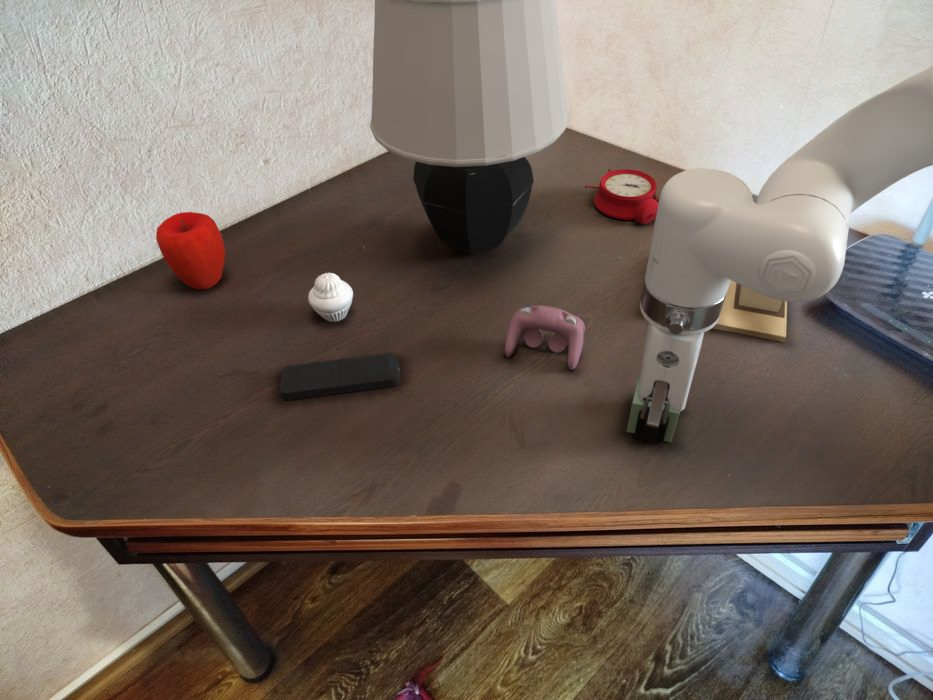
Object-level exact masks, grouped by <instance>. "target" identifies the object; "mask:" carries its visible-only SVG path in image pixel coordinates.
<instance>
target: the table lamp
mask: <svg viewBox="0 0 933 700" xmlns="http://www.w3.org/2000/svg"><path fill="white" fill-rule="evenodd" d="M373 19H374V21H373V23H374V25H373V50H372V51H373V52H372V91H371V92H372V95H371V97H372V98H371V117H370V119H371V120H370V124H369V128H370V131H371V133H372V135H373V137H374V140H375V141H376V142H377V143H378V144H379V145H381V146H382V147H383V148H384V149H385V150H386V151H387V152H390V153H391V154H394V155H396V156H398V157H401V158H402V159H405V160H409V161H413V162H415V163H414V166H413V179H412V181H413V182H414V185H415V188H416V189H415V190H416V193H417V195H418V198H419V202H420V203H421V206H422V208H423V211H424V212H425V214H426V216H427V218H428V221H429V223H430V225H431V228H432V230H433V231H434V233H435V235H436V236H437V237H438V239H439V240H440V242H442V243H444V244H445V245H446V246H448V247H450V248H451V249H454V250H457V251H460V252H463V253H466V254H471V255H476V254H481V253H487V252H490V251H493V250H495V249H496V248H498V247H499V246H500V245H501V244H502V243H503V242H504V241H505V240H506V238H508V236H509V235H510V234H511V233H512V231H514V229H516V227H517V226H518V225H519V223H520V222H521V220H522V218H523V216H524V214H525V212H526V209H527V207H528V205H529V202H530V198H531V195H532V189H533V184H534V183H535V180H534V173H533V168H532V165H531V163H530V162H529V160H528V159H527V158H526V157H528V156H531V155H534V154H537V153H538V152H541V151H542V150H543V149H546V148H547V147H549V146H551V145H553V144H554V143H555V142H556V141H557V140H558V139H559V138H560V137H561V136H562V134H563V133H564V132H565V131H566V129H567V126H568V123H569V119H570V114H569V111H568V104H567V97H566V89H565V80H564V79H565V78H564V70H563V60H562V59H563V58H562V52H561V41H560V34H559V24H558V16H557V9H556V0H374V18H373Z"/></svg>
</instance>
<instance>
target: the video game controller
mask: <svg viewBox="0 0 933 700" xmlns="http://www.w3.org/2000/svg"><path fill="white" fill-rule="evenodd" d="M542 331H547V332H550V333H553V334H552V335H551V336H550V338H549V339H548V343H547V346H548V349H550V351H552V352H553V353H561V352H562V351H564V350H565V349H566V347H567V346H568V354H567V366H568V369H569V370H571V371H572V370H574V369H576V368H577V366H578V364H579V361H580V359H581V354H582V350H583V346H584V337H585V331H586V325H585V323H584V321H583V320H582V319H581V318H580V317H579V316H577V315H574V314H572V313H570V312H569V311H567V310H564V309H562V308H558V307H553V306H549V305H527V306H522V307H520V308H518V309H517V311H516V312H514V314H513V315H512V317H511V319H510V321H509V324H508V327H507V332H506V336H505V343H504V354H505V356H506V357H507V358H510V357H512V355H513V354H514V353H515V351H516V349H517V347H518V344H519V342H520V340H521V337H522V336H523V339H524V342H525V344H526V345H527V346H528V347H530V348H537V347H539V346H541V345H542V343H543V341H544V334H543V332H542Z"/></svg>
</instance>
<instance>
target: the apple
mask: <svg viewBox="0 0 933 700" xmlns="http://www.w3.org/2000/svg"><path fill="white" fill-rule="evenodd" d="M155 233H156V234H155V239H156V242H157V246H158V248H159V251H160V253H161V255H162V257H163V260H164V261H165V263H166V265H167V266H168V267H169V268H170V270H171V271H172V272H173V274H174V275H175V276H176V277H177V278H178V279H180V280H181V282H183V283H184V284H186V285H187V286H188V287H190V288H192V289H195V290H207V289H210V288H212V287H214V286H215V285H217V284H218V283H219V281H221V279H222V275H223V271H224V267H225V261H226V247H225V243H224V238H223V236H222V233H221V231H220V229H219V227H218V225H217V223H216V221H215V220H214V219H213V218H212V217H211V216H210V215H209V214H205V213H201V212H194V211H184V212H182V211H181V212H179V213H175V214H173V215H171V216H170V217H167V218H166V219H165V220H163V222H161V223H160V225H159V226H158V227H156V232H155Z"/></svg>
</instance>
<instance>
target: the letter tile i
mask: <svg viewBox="0 0 933 700" xmlns="http://www.w3.org/2000/svg"><path fill="white" fill-rule="evenodd" d="M640 375H641V371H640V372H639V374H638V379H637V381H636V386H635V391H634V395H633V398H632V402H631V408H630V413H629V418H628V422H627V428H626V433H631V434H634V433H635V428H636V424H637V419H638V415H639V410H640V411H642V407H643V403H644V401H643V403H642V402H641V401H640V400H639V398H638V393H639V384H640ZM652 392H654V391H652ZM666 395H668V394H666ZM650 406H651V402H649V403H648V407H647V409H650ZM664 407H665V405H663V410H662V412H663V411H664ZM680 413H681V411H680V412H679V411H675V410H672V409H671V406H670V409H669V413H668V417H669V422H668V425H667V429H666V433H665V436H664V440H663V442H667V443H672V441H673V438H674V434H675V430H676V427H677V424H678V420H679V417H680Z"/></svg>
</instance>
